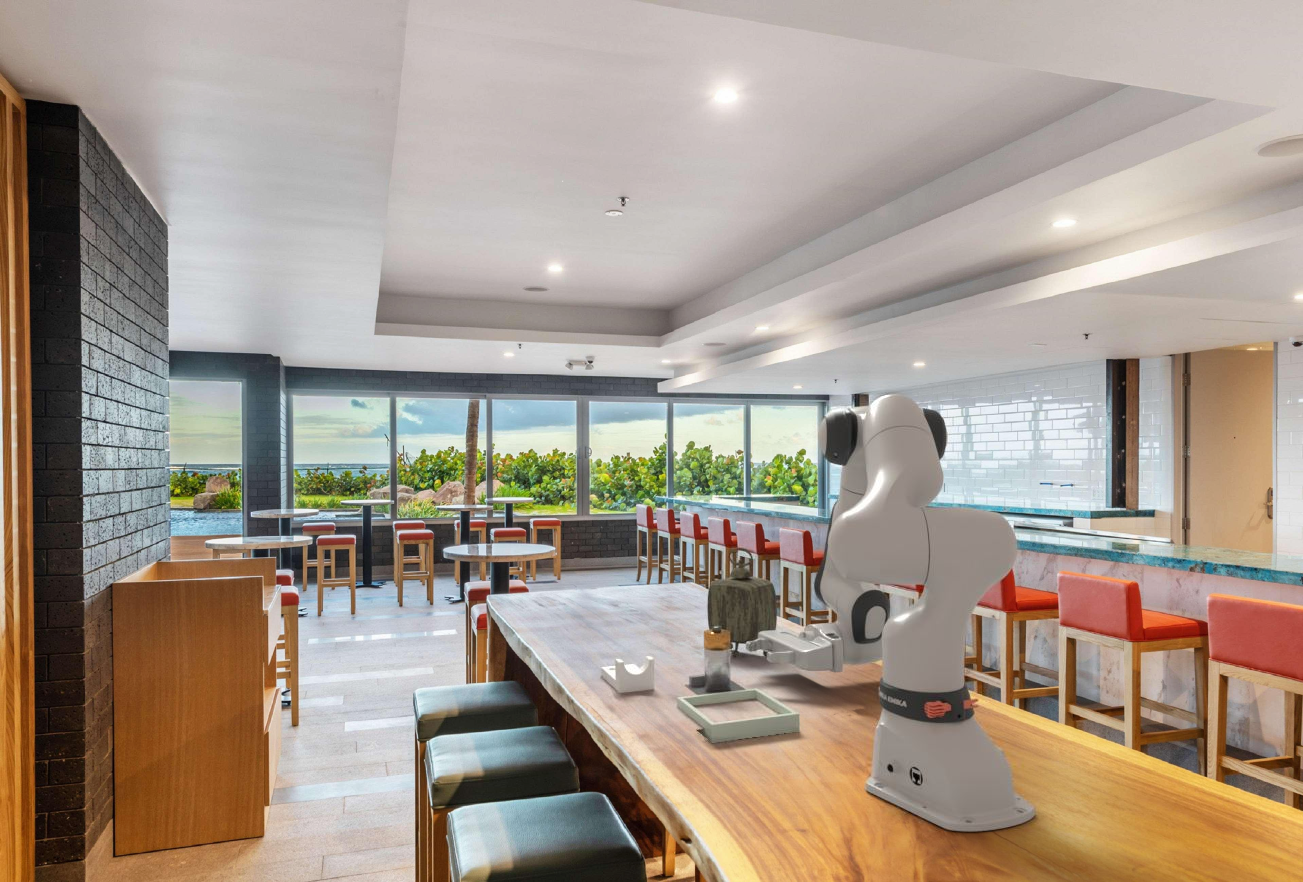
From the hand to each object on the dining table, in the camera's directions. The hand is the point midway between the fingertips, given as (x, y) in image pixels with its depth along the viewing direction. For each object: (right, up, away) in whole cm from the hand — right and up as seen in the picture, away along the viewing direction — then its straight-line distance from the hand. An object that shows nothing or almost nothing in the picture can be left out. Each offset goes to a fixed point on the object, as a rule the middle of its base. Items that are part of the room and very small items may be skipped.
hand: (757, 652), depth 160 cm
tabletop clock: (0, -9, +29) cm, 31 cm away
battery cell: (-8, -6, -3) cm, 11 cm away
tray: (-6, -8, -18) cm, 20 cm away
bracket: (-26, -9, +3) cm, 27 cm away
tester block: (-8, -8, -3) cm, 12 cm away
